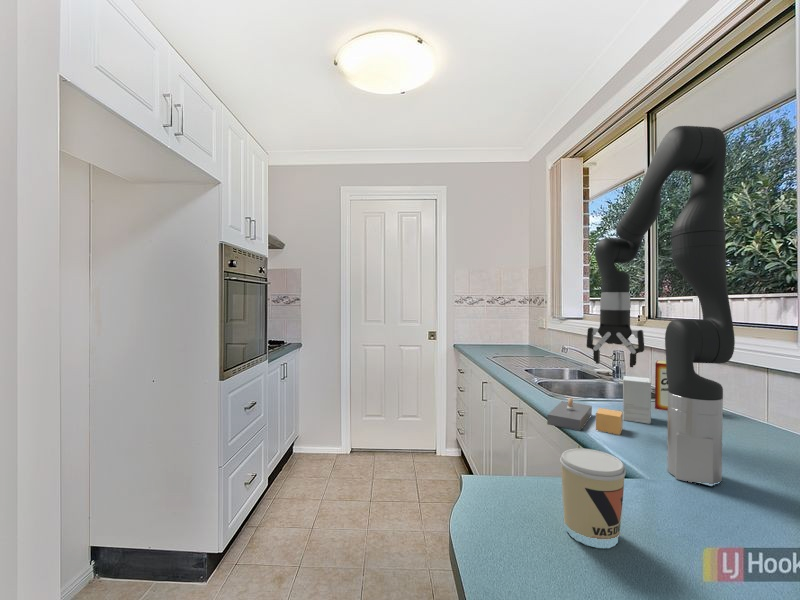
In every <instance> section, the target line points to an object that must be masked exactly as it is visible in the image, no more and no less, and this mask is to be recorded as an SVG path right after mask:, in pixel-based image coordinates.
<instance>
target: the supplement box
mask: <svg viewBox="0 0 800 600" xmlns="http://www.w3.org/2000/svg"><path fill="white" fill-rule="evenodd" d="M622 409H623V410H622V412H623V421H626V422H628V421H629V422H634V423H635V422H636V423H642V424H649V425H651V424H652V382H651V378H650V377H640V376H629V375H623V378H622Z"/></svg>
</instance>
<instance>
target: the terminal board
mask: <svg viewBox="0 0 800 600" xmlns="http://www.w3.org/2000/svg"><path fill="white" fill-rule="evenodd" d="M567 400H568V401H564V400H562V401H561V402H559V403H558V404H557V405H556V406H554V408H552V409H551V410H550V411H549V412H548V413H547V415H546V416H547V418H546V419H547V422H546V424H547V425H548V426H553V427H558V428H559V427H560V428H563V429H564V428H565V429H569V430H574V431H579V432H580V430H581V431H582V429H583V428H584V426H585V425H586V424H587V423H588V421H589V419H590V418H591V417H592V415H593V405H590V404H585V403H584V404H582V403H576V402H573V401H574V399H573V398H571V397H568V399H567ZM590 416H591V417H590ZM587 420H588V421H587ZM585 423H586V424H585ZM584 424H585V425H584ZM582 427H583V428H582ZM581 428H582V429H581Z"/></svg>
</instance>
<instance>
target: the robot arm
mask: <svg viewBox="0 0 800 600" xmlns="http://www.w3.org/2000/svg"><path fill="white" fill-rule="evenodd" d="M726 160H727V140H726V136H725V134H724V132H723V131H722V130H721V129H719V128H717V127H712V126H699V125H698V126H697V125H696V126H695V125H678V126H675V127H673V128H672V129H670V130H668V132H667V133H666V134H665V135H664V137H663V138H662V140H661V141H660V142H659V145H658V147H657V148H656V151H655V153H654V155H653V157H652V159H651V162H650V163H649V166H648V167H647V170H646V171H645V172H646V173H645V175H644V177H643V180H642V181H641V184H640V185H639V188H638V190H637V192H636V195H635V197H634V199H633V201H632V202H631V204H630V205H629V207H628V209H627V210H626V212H624V214H623V216H622V217H621V218H620V220H619V221H618V223H617V225H616V228H615V232H616V234H617V236H618V237H619V238H617V237H616V238H613V237H611V238H607V237H606V238H602V239H600V240H599V241H598V242H597V244H596V246H595V248H594V257H595V260H596V265H597V268H598V271H599V276H600V278H601V279H600V280H601V282H600V283H601V284H600V285H601V290H600V292H601V293H600V301H599V302H600V304H599V305H600V306H599V309H600V310H599V327H598V328H596V327H595V328H594V327H591V326H590V327H588V328H587V336H586V348H588V349H591V350H592V352H593V354H592V355H593V357H592V359H593V361H594V362H595V364H597V365H598V364H601V363H600V362H601V357H600V356H601V350H600V349H601V348H602V347H603V345H604V344H605V343H606V344H607V345H612V344H613V345H614V344H615V345H624V346H625V347H626V349H628V351H629V352H630V353H629V367H630V368H634V366H636V365H637V354H638V353H643V352H644V351H645V338H644V335H645V334H644V330H643V329H638V330H635V329H634V330H632V328H631V308H632V306H631V305H632V304H631V295H630V288H631V287H630V274H629V273H628V272H626V271H623V270H622V271H621V270H619V269H618V268H617V267H616V264H627V263H630V262H632V261H633V260H634V259H636V257H637V255H638V254H639V253H638V252H639V250H640V247H641V244H642V243H643V238H644V236H645V235H646V234H647V232H648V231H649V230H650V229H651V227H652V226H653V224H654V223H655V221H656V220H657V219H658V216H659V215H660V212H661V203H662V199H661V198H662V197H661V195H662V189H663V186H664V183H665V182H666V181H667V179H668V178H669V176H671V175H672V174H673V173H674V172H675V171H676V172H677V171H678V172H689V173H690V178H691V185H690V188H691V189H690V196H689V198H688V201H687V203H686V204H685V205H684V206H683V209H682V210H681V212H680V214H679V215H678V217H677V218H676V220H675V222H674V223H673V226H672V228H671V233H670V234H671V235H670V236H671V237H670V239H671V241H670V243H671V259H672V262H673V263H674V264H673V265H674V266H675V267H676V269H677V271H678V272H679V273H680V275H681V276H682V277H683V279H684V280H685V281H686V282H687V283H688V285H690V287H691V288H692V289H693V291H694V293H695V295H696V296H697V299H698V300H699V304H700V307H701V313H702V319H698V318H697V319H696V318H695V319H694V318H680V319H679V318H677V319H672V320H671V321H669V323H668V324H667V327H666V329H665V334H664V349H665V361H666V374H667V381H668V411H667V431H666V432H667V438H666V439H667V442H666V443H667V445H666V446H667V448H666V450H667V452H666V453H667V457H666V460H667V462H666V463H667V464H666V465H667V467H666V468H667V470H666V471H667V472H668V473H669V474H671V475H672V476H674V478H675V479H676V480H679V481H684V482H687V481H688V483H692V482H701V483H709V484H714V483H718V482H721V481H722V482H723V415H724V414H723V409H724V408H723V407H724V404H723V403H724V401H723V400H724V388H723V385H722V384H721V383H719V382H717V381H715V380H712V379H710V378H709V379H708V378H705V377H703V376H702V375H699V374H698V373H697V372H696V370H695V367H694V364H725V363H728V362H730V360H731V359H732V357H733V355H734V352H735V346H736V345H735V344H736V343H735V342H736V340H735V339H736V338H735V331H734V323H733V317H732V311H731V305H730V298H729V291H728V279H727V262H726V261H727V259H726V258H727V256H726V254H727V253H726V252H727V251H726V250H727V247H726V246H727V244H726V231H725V230H726V227H725V217H724V216H725V215H724V214H725V213H724V203H725V202H724V184H725V173H726V172H725V170H726ZM597 333H598V334H599V335H600V337H601V338H600V340H598V342H597V343H596V344H594V336H595V335H596V334H597ZM632 335H633V336H634V338H635V339H637V346H638V347H637V348H636V347H635V345H634V344H632V342H631V341H630V340H629V338H630V337H631V336H632ZM722 482H721V483H722Z"/></svg>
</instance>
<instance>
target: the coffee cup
mask: <svg viewBox="0 0 800 600" xmlns="http://www.w3.org/2000/svg"><path fill="white" fill-rule="evenodd" d="M559 460H560V467H561V468H560V470H561V487H562V488H561V489H562V491H561V492H562V503H563V520H564V525H565V524H566V525H567V526H568V527H569V528H570V529H571V530H573V531H575V532H576V533H579V534H581V535H584V536H586V537H590V538H597V539H611V538H615V537H617V536H618V535H619V534H620V533H621V523H622V513H623V499H624V489H625V477H626V475H627V474H626V473H627V472H626V471H627V470H626V466H625V465H624V463H623V462H622V461H621V459H619V458H617V457H616V456H614V455H612V454H610V453H607V452H605V451H601V450H597V449H592V448H577V447H575V448H571V449H566V450H565V451H563V452H562V454H561V456H560V458H559ZM620 535H621V534H620ZM620 535H619V536H620Z"/></svg>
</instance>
